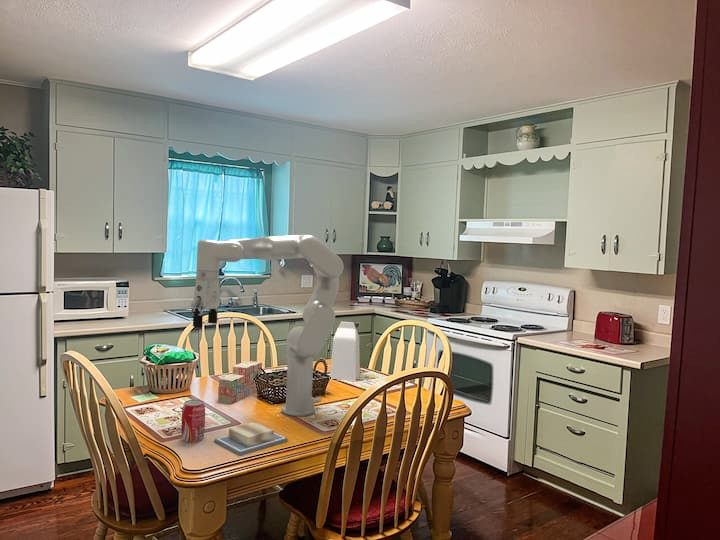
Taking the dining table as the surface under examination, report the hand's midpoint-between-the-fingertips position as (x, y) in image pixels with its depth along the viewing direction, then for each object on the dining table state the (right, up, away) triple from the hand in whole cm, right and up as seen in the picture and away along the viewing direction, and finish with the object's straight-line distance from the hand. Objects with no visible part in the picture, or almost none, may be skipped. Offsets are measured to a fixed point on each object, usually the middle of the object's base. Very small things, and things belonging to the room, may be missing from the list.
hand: (205, 325), depth 193 cm
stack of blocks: (+5, -32, +32) cm, 45 cm away
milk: (+46, -31, +67) cm, 87 cm away
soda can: (+1, -35, -16) cm, 38 cm away
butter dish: (+19, -35, -16) cm, 43 cm away
